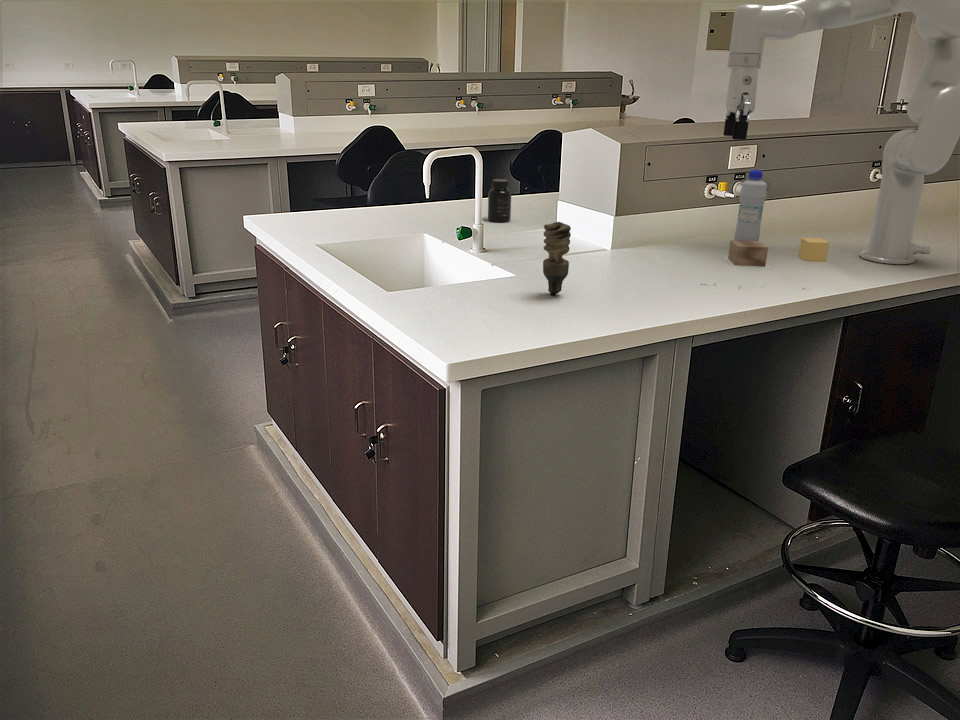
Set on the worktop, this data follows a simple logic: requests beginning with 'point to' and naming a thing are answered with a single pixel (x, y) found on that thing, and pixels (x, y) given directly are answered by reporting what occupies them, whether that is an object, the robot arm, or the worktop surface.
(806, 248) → the ochre block
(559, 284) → the light bulb
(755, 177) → the bottle
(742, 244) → the walnut block
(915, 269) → the worktop surface
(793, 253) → the worktop surface
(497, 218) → the supplement bottle
